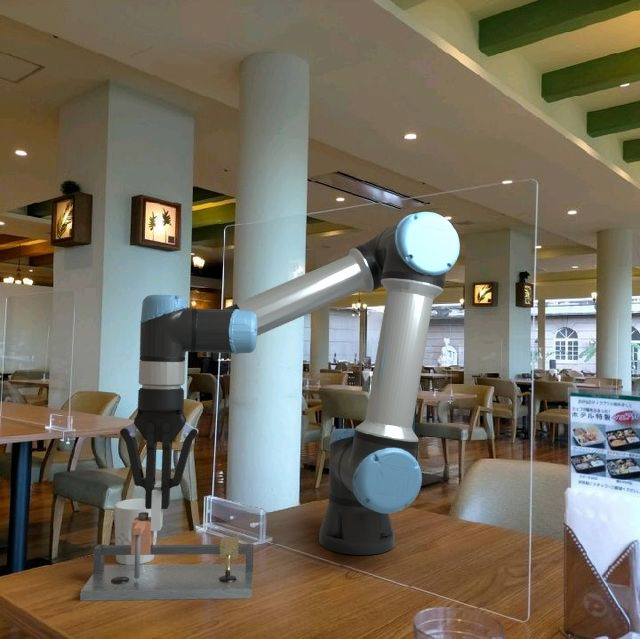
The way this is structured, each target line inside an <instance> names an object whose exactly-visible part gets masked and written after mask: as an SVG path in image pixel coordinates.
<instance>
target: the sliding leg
mask: <svg viewBox="0 0 640 639" xmlns="http://www.w3.org/2000/svg"><path fill="white" fill-rule="evenodd" d="M153 537H154V531H151V517H148V513H147V512H141V513H139V515H138V517H136V518H135V519H134V520H133V522H132V540H131V554H135V569H134V578H135V579H138V578H139V575H140V565H141V564H140V554H150V549H151V545H153Z"/></svg>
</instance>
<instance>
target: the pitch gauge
mask: <svg viewBox="0 0 640 639" xmlns="http://www.w3.org/2000/svg"><path fill="white" fill-rule="evenodd" d="M254 545H255V544H254V543H246V544H243V543H242V544H241V543H240V536H221V538H220V543H219V544H155V545H151V549H150V554H140V555H154V556H156V555H159V556H160V555H161V556H162V555H164V556H165V555H166V556H167V555H219V559H220V560H221V559H225V563H217V564H215V563H208V564H207V563H204V564H203V563H202V564H201V563H200V564H198V563H196V564H193V563H189V564H188V563H187V564H185V563H184V564H181V563H180V564H140V575H139V578H138V579H135V578H134V569H135V565H125V564H110V565H109V564H105V556H116V555H135V554H131V545H115V544H111V545H110V544H108V545H107V544H96V545H95V547H94V548H93V565H92V566H93V571H92V572H93V573H92V575H91V576H90V577H89V578H88V580H87V582H86V583H85V584H84V585H83V587H82V588H81V589H80V597H79V598H80V600H79V601H80V602H83V601H84V602H86V601H87V602H89V601H90V602H91V601H97V602H98V601H155V600H157V601H160V600H161V601H164V600H165V601H166V600H171V601H172V600H217V599H218V600H220V599H221V600H222V599H223V600H224V599H225V600H227V599H228V600H231V599H232V600H233V599H235V600H237V599H252V598H253V578H254ZM239 555H245V563H231V561H232V559H239Z"/></svg>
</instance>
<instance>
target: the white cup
mask: <svg viewBox="0 0 640 639" xmlns="http://www.w3.org/2000/svg"><path fill="white" fill-rule="evenodd" d="M141 512H147V513H148V517H151V509H146V507H145V498H130V499H124V500H120V501H117V502H116V503H115V504H114V533H115V534H114V538H115V543H114V545H131V540H132V522H133V520H134V519H135V518H136V517H138V515H139V513H141ZM157 536H158V531H154V537H153V545H157ZM154 559H155V555H140V565H145V564H147V563H150V562H152V561H153V560H154ZM115 560H116V562H117V563H118V564H119V565H135V555H115Z"/></svg>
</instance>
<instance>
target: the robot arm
mask: <svg viewBox="0 0 640 639" xmlns="http://www.w3.org/2000/svg"><path fill="white" fill-rule="evenodd" d="M460 248H461V247H460V239H459V235H458V233H457V231H456V229H455V228H454V227H453V225H452V223H451V222H450V221H449V220H448V219H446V218H445V217H444V216H442V215H441V214H438V213H436V212H432V211H431V212H430V211H422V212H417V213H412V214H409V215H406V216H405V217H404V218H402V219H401V220H400V221H398V222H396V223H394V224H392V225H390V226H388V227H386V228H385V229H384V230H382V231H381V232H380V233H378V234H376V235H375V236H374V237H372V238H370V239H369V240H367V241H365V242H363V243H362V244H360V245H358V246H355V247H353V248H351V249H350V250H349V253H348V255H347V256H346V255H345V256H344V257H341V258H339V259H337V260H335V261H332V262H330V263H328V264H326V265H323V266H321V267H319V268H316V269H314V270H311V271H309V272H307V273H304V274H302V275H300V276H297V277H295V278H293V279H290V280H288V281H286V282H283V283H281V284H278V285H276V286H274V287H271V288H269V289H267V290H265V291H262V292H260V293H257V294H254V295H253V296H250V297H248V298H246V299H245V298H244V299H243V300H241V301H239V302H236V303H234V304H231V305H229V306H227V307H225V308H222V309H216V308H193V307H189V304H188V300H187V297H185V296H181V295H171V294H149V295H146V296H145V297H144V298H143V300H142V304H141V315H140V329H139V330H140V333H139V337H140V338H139V363H138V365H139V366H138V384H139V385H141V387H140V388H139V389H138V390H137V392H138V395H137V413H136V415H135V417H134V419H133V423H131V424H129V425H128V426H124V427H123V428H121V429H120V430H119V433H120V436H121V437H122V439H123V440H124V442H125V445H126V450H127V455H128V459H129V464H130V469H131V473H132V479H133V483H134V486H136V487H141V488H143V489H144V491H145V497H144V499H145V507H146V509H151V531H157V532H158V531H159V532H160V531H161V529H162V528H163V518H164V516H163V515H164V510H168V508H169V506H170V503H171V502H170V500H171V489H172V488H174V487H178V486H179V485H180V484H181V482H182V480H183V476H184V472H185V469H186V465H187V461H188V458H189V454H190V451H191V448H192V445H193V444H192V443H193V441H194V440H195V438H196V436H197V435H198V434H199V428H197V427H194V426H192V425H190V424H189V423H188V422H187V417H186V416H185V414H184V413H185V412H184V410H185V409H184V406H185V403H184V402H185V390H184V388H183V387H181V386H183V385H184V384H185V382H186V381H185V380H186V377H185V376H186V375H185V374H186V372H185V371H186V352H187V353H189V352H190V353H196V352H197V353H213V354H214V353H215V354H216V353H218V354H235V355H237V354H238V355H239V354H251V353H253V352H254V351H255V350H256V346H257V341H258V340H257V339H258V337H259V336H260V335H262V334H265V333H267V332H269V331H272V330H274V329H276V328H279V327H282V326H283V325H286V324H289V323H290V322H294V321H295V320H297V319H300V318H302V317H304V316H307V315H309V314H311V313H313V312H315V311H318V310H320V309H322V308H324V307H327V306H329V305H331V304H334V303H336V302H338V301H340V300H343V299H345V298H348V297H349V296H352V295H354V294H357V293H360V292H361V291H365V292H367V293H372V292H373V291H376V290H378V289H381V288H384V289H385V290H386V296H385V297H386V298H385V302H384V303H385V304H384V309H383V313H382V314H383V315H382V320H381V325H380V326H381V327H380V332H379V337H378V345H377V351H376V354H375V355H376V356H375V361H374V367H373V373H372V378H371V379H372V380H371V386H370V390H369V395H368V396H369V397H368V401H367V402H368V403H367V409H366V413H365V414H366V415H365V419H364V421H363V422H361V423H360V424H358V425H357V426H355V428H335V429H333V430H332V431H331V433H330V438H329V443H328V447H329V471H328V472H329V473H328V474H329V476H328V478H329V479H328V505H327V508H326V510H325V514H324V517H323V519H322V522H321V525H320V528H319V536H318V537H319V540H318V542H319V545H321V547H323V548H325V549H326V550H328V551H332V552H334V553H339V554H345V555H351V556H352V555H354V556H369V555H370V556H371V555H378V554H383V553H386V552H388V551H391V550H392V549H393V548H394V547H395V544H396V543H395V541H396V540H395V538H396V537H395V536H396V535H395V530H394V526H393V524H392V521H391V520H392V519H391V517H390V514H394V513H398V512H400V511H403V510H404V509H406V508H407V507H409V506H411V504H412V503H413V502H414V501H415V500H416V498H417V496H418V495H419V493H420V490H421V486H422V483H423V475H422V469H421V467H420V465H419V462H418V461H417V459H416V458H417V454H418V446H419V441H420V440H419V438H418V436H417V435H416V433H415V432H414V429H413V423H414V418H415V412H416V407H417V406H416V405H417V401H418V400H417V399H418V393H419V388H420V382H421V377H422V376H421V374H422V369H423V365H424V364H423V363H424V358H425V352H426V345H427V340H428V334H429V328H430V321H431V315H432V309H433V302H434V300H435V298H437V297H439V296H440V295H441V294H443V293H444V287H445V283H446V276H447V272H448V271H450V270H451V269H452V267H453V266H454V265H455V263H456V262H457V259H458V258H459V255H460ZM137 430H138V431H139V433H140V435H141V436H142V438H143V439H144V440H145V441H146V442H145V444H146V446H145V449H146V454H145V455H146V458H145V475H144V470H143V465H142V461H141V456H140V451H139V447H138V441H137V438H136V436H137V434H138V432H137ZM182 430H183V433H182V436H183V438H184V441H183V443H182V447H181V450H180V454H179V457H178V460H177V464H176V468H175V472H174V475H173V477H172V455H173V454H172V452H173V441H174V440H175V439H176V437H177V436H178V435H179V434H180V432H181V431H182ZM158 443H161V449H162V450H161V452H162V453H161V475H160V476H161V479H160V481H161V482H160V484H161V485H160V486H158V487H157V486H156V484H157V482H156V469H157V448H158ZM155 486H156V487H155Z"/></svg>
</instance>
